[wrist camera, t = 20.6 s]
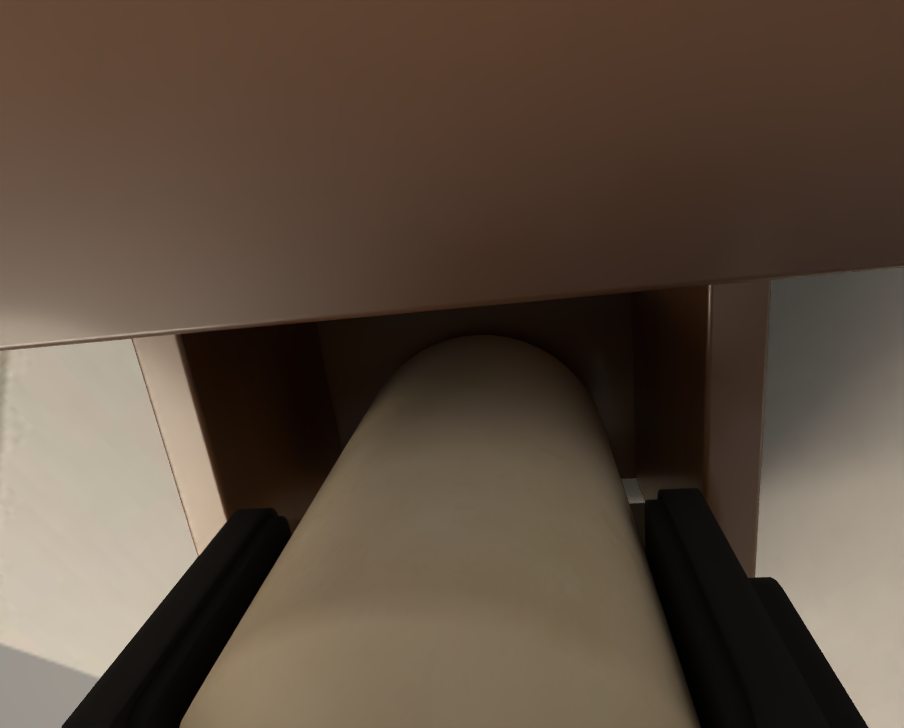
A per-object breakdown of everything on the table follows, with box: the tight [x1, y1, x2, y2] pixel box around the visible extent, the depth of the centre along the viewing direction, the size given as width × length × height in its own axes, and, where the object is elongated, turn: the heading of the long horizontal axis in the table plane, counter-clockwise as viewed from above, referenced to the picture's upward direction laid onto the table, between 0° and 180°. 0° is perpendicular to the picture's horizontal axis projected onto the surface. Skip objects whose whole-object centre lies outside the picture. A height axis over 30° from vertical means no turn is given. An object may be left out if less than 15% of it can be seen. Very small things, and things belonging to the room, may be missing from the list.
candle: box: [179, 335, 701, 728], centre depth 9 cm, size 6×6×10 cm
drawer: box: [132, 279, 771, 578], centre depth 12 cm, size 18×11×7 cm, turn 7°
